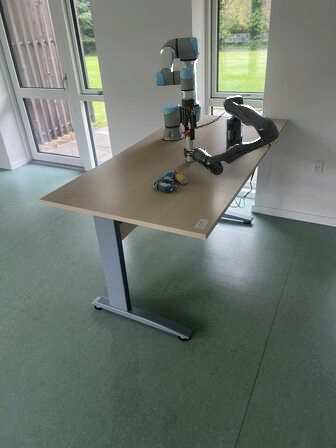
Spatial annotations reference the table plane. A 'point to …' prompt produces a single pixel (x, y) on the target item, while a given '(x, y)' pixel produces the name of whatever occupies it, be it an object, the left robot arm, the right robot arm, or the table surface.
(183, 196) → the table surface
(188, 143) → the bottle
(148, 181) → the table surface
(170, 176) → the spray gun
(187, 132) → the lid
